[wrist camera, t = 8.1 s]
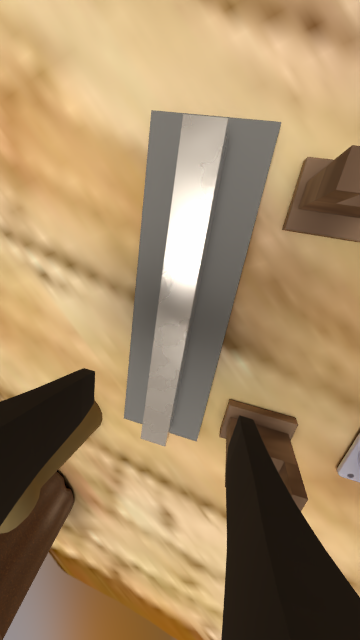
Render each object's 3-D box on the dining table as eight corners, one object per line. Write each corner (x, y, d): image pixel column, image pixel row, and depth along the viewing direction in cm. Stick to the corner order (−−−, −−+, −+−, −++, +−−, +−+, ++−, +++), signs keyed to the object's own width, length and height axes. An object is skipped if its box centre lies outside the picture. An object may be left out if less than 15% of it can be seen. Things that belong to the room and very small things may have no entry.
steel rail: (228, 138, 13) (228, 117, 11) (171, 426, 22) (165, 446, 20) (190, 134, 14) (183, 114, 12) (149, 419, 22) (140, 438, 20)
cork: (64, 428, 27) (-35, 538, 17) (50, 387, 25) (-70, 483, 15) (106, 433, 26) (26, 556, 16) (96, 390, 24) (-3, 499, 14)
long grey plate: (278, 128, 13) (281, 122, 13) (197, 434, 23) (196, 441, 22) (155, 116, 15) (151, 110, 14) (127, 412, 24) (123, 418, 23)
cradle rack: (410, 174, 13) (556, 117, 7) (280, 449, 21) (299, 525, 15) (303, 161, 14) (355, 102, 8) (219, 430, 22) (215, 496, 16)
